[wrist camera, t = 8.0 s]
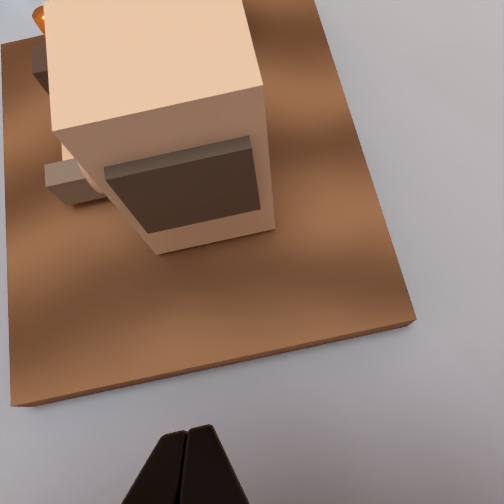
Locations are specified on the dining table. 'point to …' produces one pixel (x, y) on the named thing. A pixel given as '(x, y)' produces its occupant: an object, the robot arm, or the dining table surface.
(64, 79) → the block
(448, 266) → the dining table surface
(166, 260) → the gauge base
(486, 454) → the dining table surface
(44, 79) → the reading marker
